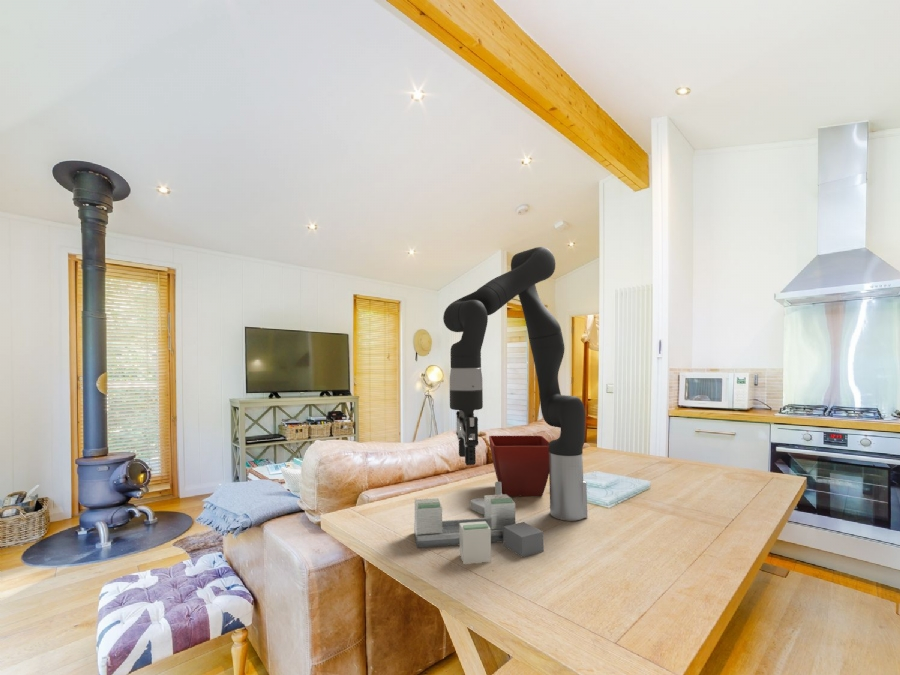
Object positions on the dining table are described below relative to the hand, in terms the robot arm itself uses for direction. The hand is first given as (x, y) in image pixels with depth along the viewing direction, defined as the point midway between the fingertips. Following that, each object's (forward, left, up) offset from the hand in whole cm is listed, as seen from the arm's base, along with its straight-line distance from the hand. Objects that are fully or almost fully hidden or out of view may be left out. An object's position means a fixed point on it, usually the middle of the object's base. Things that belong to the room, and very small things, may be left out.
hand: (466, 460), depth 95 cm
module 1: (-1, +2, -21) cm, 21 cm away
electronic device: (-11, -25, -21) cm, 35 cm away
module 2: (-13, -1, -21) cm, 25 cm away
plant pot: (-27, -43, -21) cm, 55 cm away
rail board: (-1, -10, -21) cm, 23 cm away
